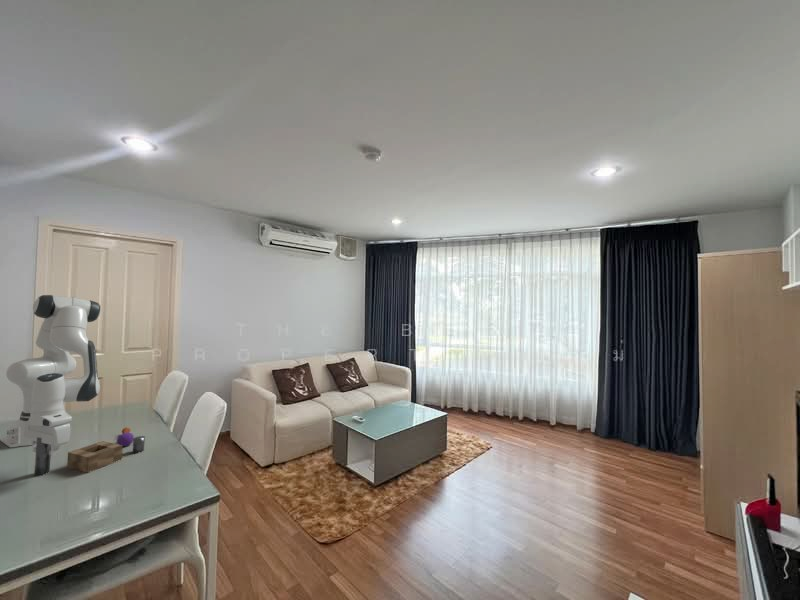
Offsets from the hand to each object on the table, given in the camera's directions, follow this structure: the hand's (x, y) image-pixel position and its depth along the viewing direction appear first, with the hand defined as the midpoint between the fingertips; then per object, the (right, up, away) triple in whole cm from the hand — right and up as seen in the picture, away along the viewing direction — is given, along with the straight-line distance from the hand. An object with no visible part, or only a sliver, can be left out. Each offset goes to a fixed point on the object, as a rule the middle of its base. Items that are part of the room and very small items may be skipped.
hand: (44, 453), depth 125 cm
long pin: (-1, -8, 0) cm, 8 cm away
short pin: (+19, -9, +21) cm, 30 cm away
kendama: (+4, -9, +31) cm, 33 cm away
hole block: (+11, -8, +9) cm, 16 cm away
